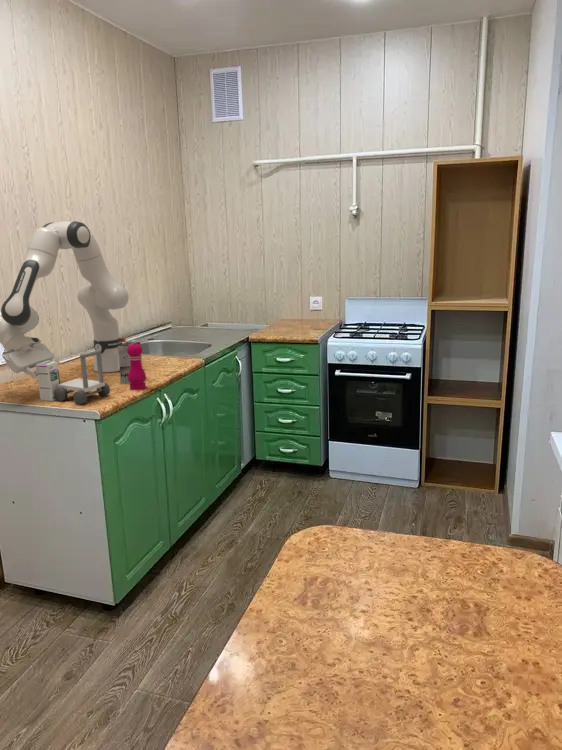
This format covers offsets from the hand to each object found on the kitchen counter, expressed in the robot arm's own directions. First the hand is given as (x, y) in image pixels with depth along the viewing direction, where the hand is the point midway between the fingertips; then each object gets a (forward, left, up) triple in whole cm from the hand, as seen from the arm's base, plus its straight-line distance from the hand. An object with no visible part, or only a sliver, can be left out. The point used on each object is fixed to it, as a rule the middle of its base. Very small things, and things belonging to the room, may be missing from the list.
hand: (44, 373), depth 223 cm
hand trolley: (-6, +12, -10) cm, 17 cm away
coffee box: (-34, +12, -10) cm, 38 cm away
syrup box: (-1, +1, -10) cm, 10 cm away
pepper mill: (-26, +22, -10) cm, 36 cm away
